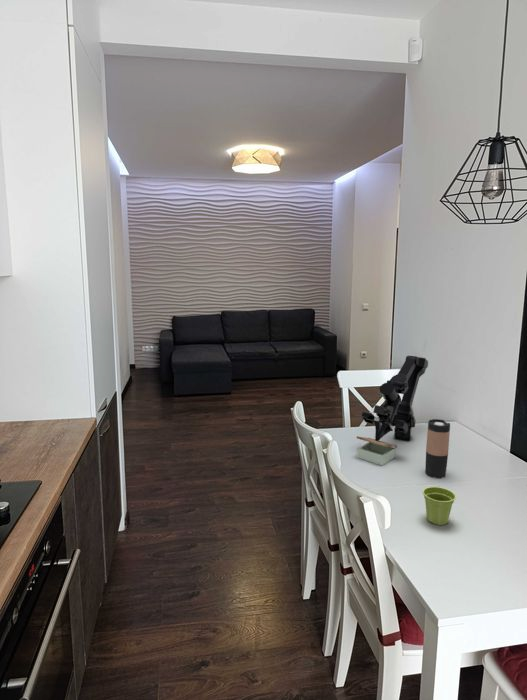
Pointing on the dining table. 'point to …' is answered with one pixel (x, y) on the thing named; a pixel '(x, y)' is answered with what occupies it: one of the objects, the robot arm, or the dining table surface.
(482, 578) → the dining table surface
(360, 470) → the dining table surface
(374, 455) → the pale green open box
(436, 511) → the plant pot
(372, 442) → the lid
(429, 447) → the travel mug
